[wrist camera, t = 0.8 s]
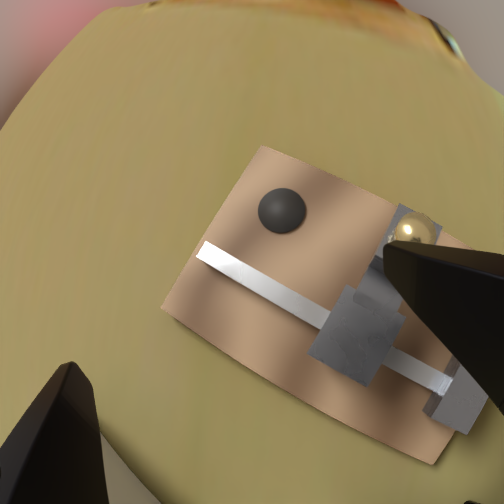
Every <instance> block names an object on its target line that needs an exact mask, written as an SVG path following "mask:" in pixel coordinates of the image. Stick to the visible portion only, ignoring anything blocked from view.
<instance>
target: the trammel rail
mask: <svg viewBox="0 0 504 504" xmlns="http://www.w3.org/2000/svg"><path fill="white" fill-rule="evenodd" d="M197 257H198V258H199V259H201V260H202V261H204V262H206V263H207V264H209V265H211V266H212V267H214V268H216V269H217V270H219V271H221V272H222V273H224V274H226V275H227V276H229V277H231V278H232V279H234V280H236V281H237V282H239V283H241V284H242V285H244V286H246V287H247V288H249V289H251V290H252V291H254V292H256V293H257V294H259V295H261V296H263V297H264V298H266V299H268V300H269V301H271V302H273V303H275V304H276V305H278V306H280V307H281V308H283V309H285V310H287V311H288V312H290V313H292V314H294V315H295V316H297V317H299V318H301V319H302V320H304V321H306V322H308V323H309V324H311V325H313V326H315V327H316V328H318V329H320V330H321V328H322V327H323V325H324V323H325V321H326V320H327V318H328V316H329V314H330V313H331V312H330V311H328V310H327V309H325V308H323V307H321V306H320V305H318V304H316V303H314V302H312V301H311V300H309V299H307V298H305V297H303V296H302V295H300V294H298V293H296V292H295V291H293V290H291V289H289V288H287V287H286V286H284V285H282V284H280V283H279V282H277V281H275V280H273V279H272V278H270V277H268V276H266V275H264V274H263V273H261V272H259V271H257V270H256V269H254V268H252V267H250V266H249V265H247V264H245V263H243V262H242V261H240V260H238V259H236V258H235V257H233V256H231V255H229V254H228V253H226V252H224V251H222V250H221V249H219V248H217V247H215V246H214V245H212V244H210V243H208V242H207V241H206V242H205V243H204V245H203V247H202V248H201V250H200V252H199V253H198V255H197ZM382 364H383V365H385V366H387V367H389V368H390V369H392V370H394V371H396V372H398V373H400V374H402V375H404V376H405V377H407V378H409V379H411V380H413V381H415V382H417V383H419V384H421V385H422V386H424V387H426V388H428V389H430V390H432V391H433V392H432V394H431V396H430V397H429V399H428V401H427V402H426V404H425V406H424V407H423V409H422V411H423V412H424V413H425V414H426V415H428V416H429V417H430V418H432V419H434V420H436V421H438V422H440V423H442V424H444V425H446V426H449V427H451V428H453V429H455V430H457V431H459V432H461V433H463V434H466V435H467V434H468V432H469V431H470V429H471V427H472V426H473V424H474V422H475V421H476V419H477V417H478V415H479V414H480V412H481V410H482V408H483V406H484V404H485V403H486V401H487V399H488V397H489V396H488V395H487V394H486V393H485V392H484V390H483V389H482V388H481V387H480V386H479V385H478V383H477V382H476V381H475V380H474V379H473V377H472V376H471V375H470V374H469V373H468V372H467V371H466V369H465V368H464V367H463V366H462V365H461V364H460V363H459V361H458V360H457V359H456V358H455V357H454V356H453V355H452V357H451V359H450V361H449V362H448V364H447V366H446V368H445V370H444V372H443V373H441V372H440V371H438V370H436V369H434V368H432V367H430V366H429V365H427V364H425V363H423V362H421V361H419V360H417V359H416V358H414V357H412V356H410V355H408V354H406V353H405V352H403V351H401V350H399V349H397V348H395V347H394V346H391V348H390V350H389V351H388V353H387V355H386V357H385V359H384V360H383V362H382Z"/></svg>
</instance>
